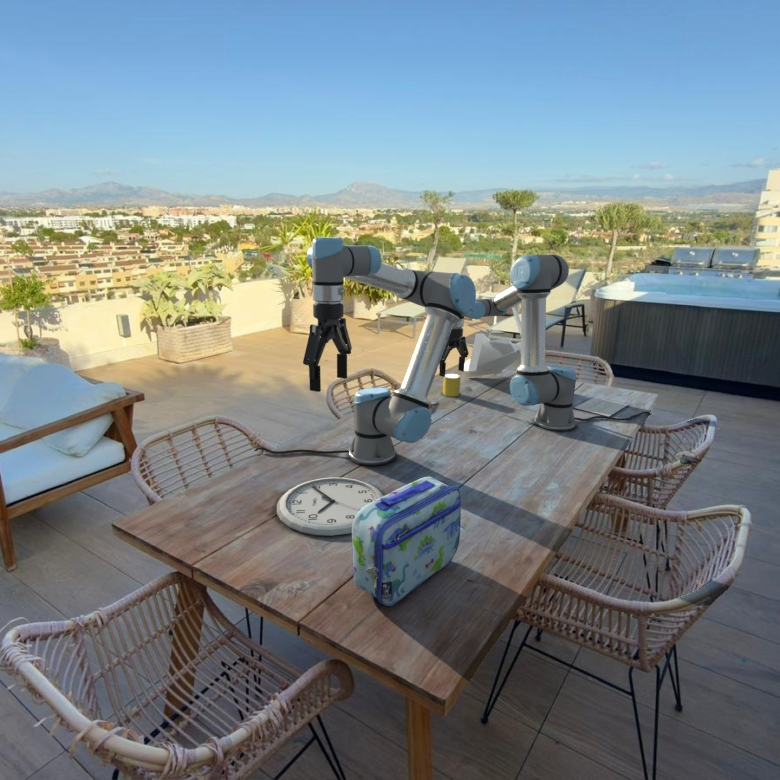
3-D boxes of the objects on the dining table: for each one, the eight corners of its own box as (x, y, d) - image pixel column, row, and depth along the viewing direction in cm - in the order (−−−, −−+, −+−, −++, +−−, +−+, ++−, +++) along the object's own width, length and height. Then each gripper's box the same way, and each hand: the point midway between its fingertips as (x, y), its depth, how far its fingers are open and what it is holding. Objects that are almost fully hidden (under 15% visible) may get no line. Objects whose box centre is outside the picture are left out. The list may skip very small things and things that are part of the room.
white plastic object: (482, 418, 266) (461, 395, 241) (463, 346, 288) (443, 318, 264) (553, 394, 254) (538, 368, 229) (528, 321, 276) (512, 289, 251)
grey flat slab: (608, 416, 214) (573, 407, 224) (608, 416, 214) (573, 408, 224) (628, 404, 229) (594, 396, 238) (628, 405, 229) (594, 397, 238)
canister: (439, 392, 242) (440, 374, 239) (453, 390, 245) (454, 373, 242) (448, 397, 235) (449, 378, 233) (462, 395, 238) (463, 377, 236)
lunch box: (381, 619, 101) (382, 525, 95) (345, 592, 109) (344, 503, 102) (464, 563, 119) (469, 480, 113) (428, 543, 126) (432, 464, 120)
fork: (422, 411, 216) (422, 407, 215) (433, 400, 230) (433, 396, 230) (428, 412, 215) (429, 407, 215) (438, 401, 230) (439, 396, 229)
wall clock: (392, 527, 129) (268, 531, 127) (391, 533, 130) (269, 537, 127) (383, 473, 158) (282, 475, 155) (383, 478, 158) (282, 480, 156)
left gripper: (314, 309, 117) (316, 399, 123) (364, 297, 139) (363, 374, 145) (286, 306, 120) (289, 394, 126) (339, 295, 142) (340, 371, 148)
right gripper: (465, 322, 242) (462, 366, 248) (429, 329, 225) (427, 376, 232) (478, 325, 237) (474, 370, 243) (443, 332, 220) (440, 380, 227)
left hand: (329, 384), depth 136 cm, fingers open, 13 cm apart
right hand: (451, 373), depth 237 cm, fingers open, 13 cm apart
